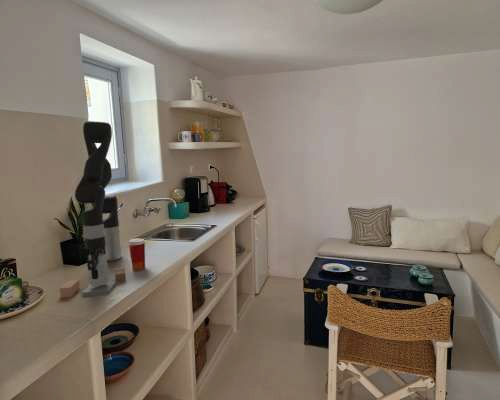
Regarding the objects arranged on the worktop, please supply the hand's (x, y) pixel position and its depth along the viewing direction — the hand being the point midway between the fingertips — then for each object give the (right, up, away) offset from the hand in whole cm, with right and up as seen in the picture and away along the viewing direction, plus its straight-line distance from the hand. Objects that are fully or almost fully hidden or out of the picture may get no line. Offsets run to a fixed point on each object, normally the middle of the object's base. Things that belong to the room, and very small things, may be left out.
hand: (98, 275), depth 137 cm
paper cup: (+8, -3, +24) cm, 26 cm away
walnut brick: (+4, -5, +12) cm, 14 cm away
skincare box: (0, -4, +1) cm, 4 cm away
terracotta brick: (-11, -7, -1) cm, 13 cm away
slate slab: (0, -7, +1) cm, 7 cm away
